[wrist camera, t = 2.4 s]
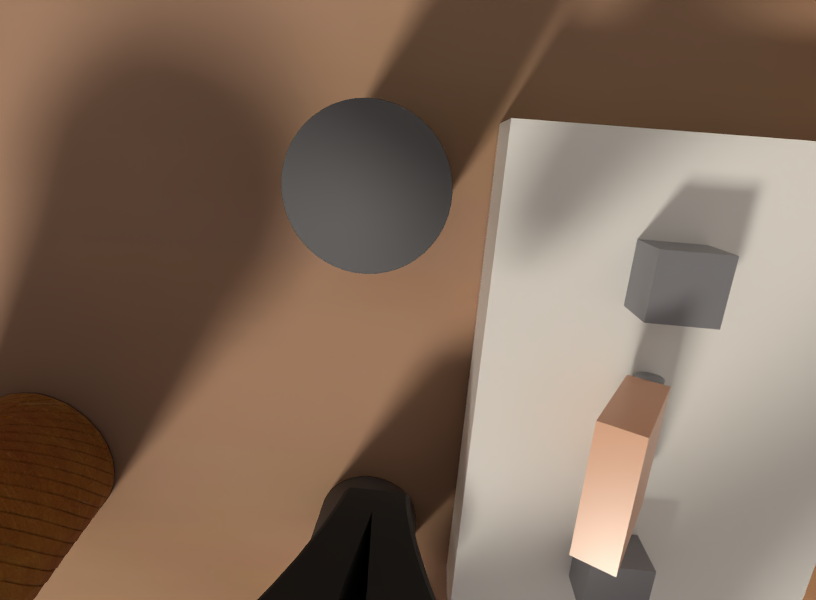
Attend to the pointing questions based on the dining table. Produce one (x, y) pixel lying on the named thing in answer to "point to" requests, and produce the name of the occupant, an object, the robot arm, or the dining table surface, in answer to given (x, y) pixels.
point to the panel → (643, 362)
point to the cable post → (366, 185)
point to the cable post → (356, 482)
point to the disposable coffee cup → (45, 487)
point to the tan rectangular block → (619, 470)
